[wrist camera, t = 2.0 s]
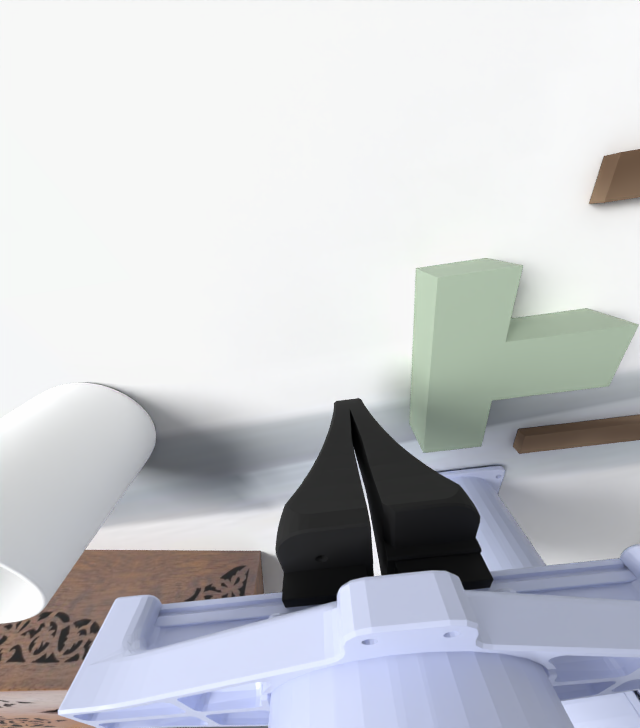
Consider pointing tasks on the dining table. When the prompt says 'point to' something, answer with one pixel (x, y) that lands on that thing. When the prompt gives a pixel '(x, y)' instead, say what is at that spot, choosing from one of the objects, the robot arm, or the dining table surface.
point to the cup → (62, 484)
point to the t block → (496, 350)
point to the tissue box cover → (88, 611)
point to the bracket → (614, 182)
